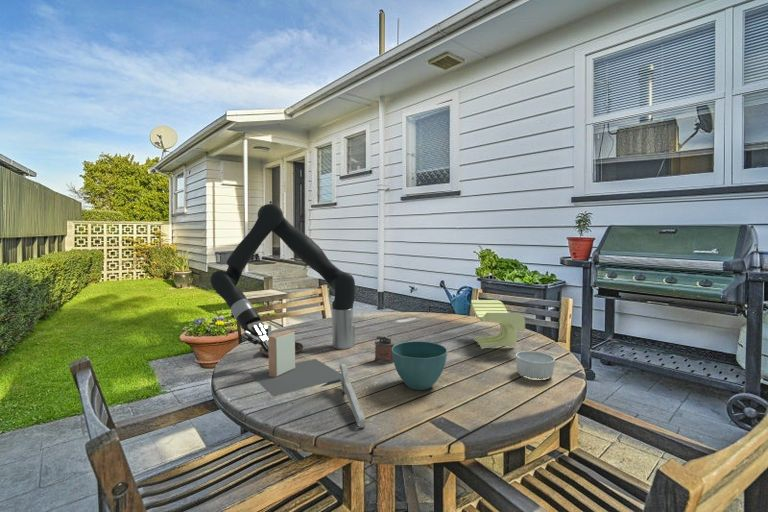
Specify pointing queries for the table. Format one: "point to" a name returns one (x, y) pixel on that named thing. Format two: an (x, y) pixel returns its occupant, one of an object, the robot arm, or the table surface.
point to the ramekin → (535, 364)
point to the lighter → (384, 349)
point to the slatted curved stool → (498, 314)
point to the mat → (298, 377)
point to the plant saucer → (297, 349)
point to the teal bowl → (419, 363)
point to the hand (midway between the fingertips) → (269, 350)
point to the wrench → (352, 397)
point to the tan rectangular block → (281, 352)
